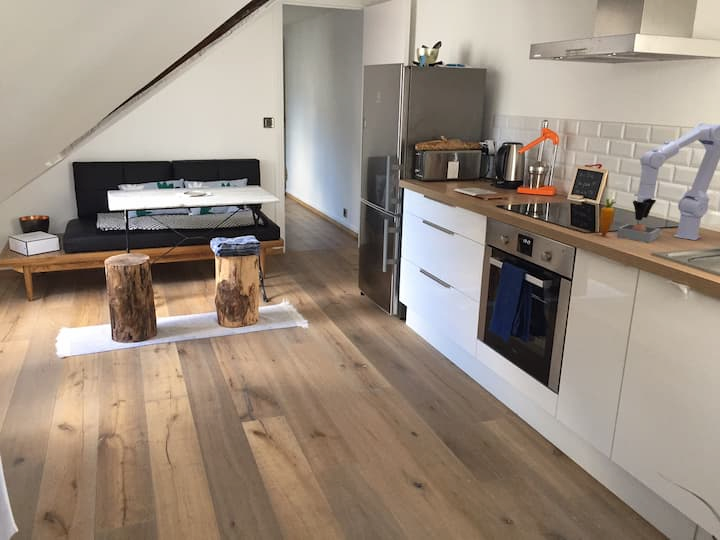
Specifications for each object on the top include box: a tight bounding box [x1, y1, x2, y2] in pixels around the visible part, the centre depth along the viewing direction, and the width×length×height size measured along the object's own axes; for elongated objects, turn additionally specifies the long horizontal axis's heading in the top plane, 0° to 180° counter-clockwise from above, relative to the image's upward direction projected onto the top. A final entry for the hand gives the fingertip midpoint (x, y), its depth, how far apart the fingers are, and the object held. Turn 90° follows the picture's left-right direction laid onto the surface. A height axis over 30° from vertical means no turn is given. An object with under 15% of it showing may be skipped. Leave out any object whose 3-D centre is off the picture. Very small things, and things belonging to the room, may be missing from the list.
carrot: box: [599, 197, 617, 237], centre depth 231 cm, size 5×5×15 cm
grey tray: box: [616, 223, 661, 244], centre depth 235 cm, size 14×12×4 cm
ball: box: [632, 223, 646, 232], centre depth 234 cm, size 5×5×5 cm
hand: (641, 218), depth 233 cm, fingers open, 7 cm apart
